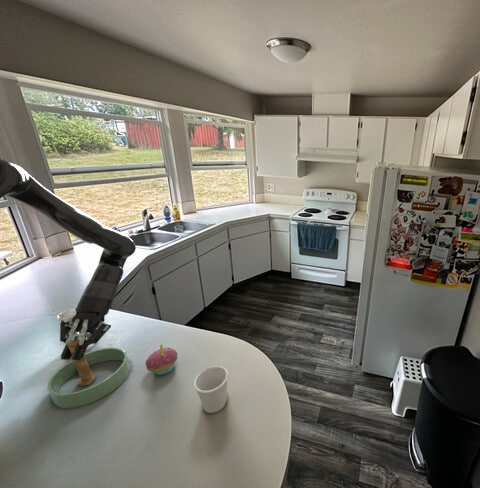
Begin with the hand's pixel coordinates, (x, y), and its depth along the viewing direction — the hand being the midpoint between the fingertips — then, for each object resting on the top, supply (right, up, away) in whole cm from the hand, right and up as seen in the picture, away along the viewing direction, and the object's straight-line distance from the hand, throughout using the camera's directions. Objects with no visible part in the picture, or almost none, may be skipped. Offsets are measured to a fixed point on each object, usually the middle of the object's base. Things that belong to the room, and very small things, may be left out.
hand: (70, 359), depth 69 cm
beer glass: (-14, -5, +19) cm, 24 cm away
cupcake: (+19, -9, +11) cm, 24 cm away
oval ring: (+1, -10, +6) cm, 12 cm away
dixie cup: (+40, -13, +1) cm, 42 cm away
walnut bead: (-5, -7, +8) cm, 12 cm away
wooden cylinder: (0, -9, +5) cm, 10 cm away
